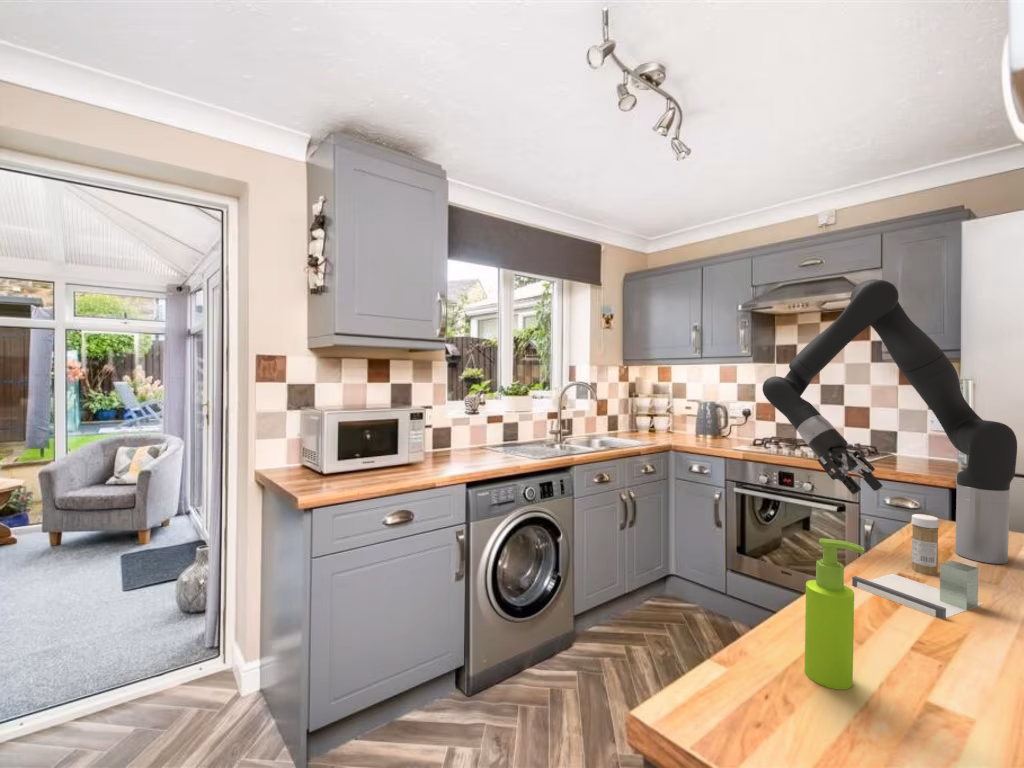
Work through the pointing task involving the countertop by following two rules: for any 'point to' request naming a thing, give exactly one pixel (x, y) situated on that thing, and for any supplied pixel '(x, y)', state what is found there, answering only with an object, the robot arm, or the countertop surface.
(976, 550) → the robot arm
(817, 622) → the soap dispenser
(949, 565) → the tea tin
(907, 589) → the tray
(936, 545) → the spice jar
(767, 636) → the countertop surface
